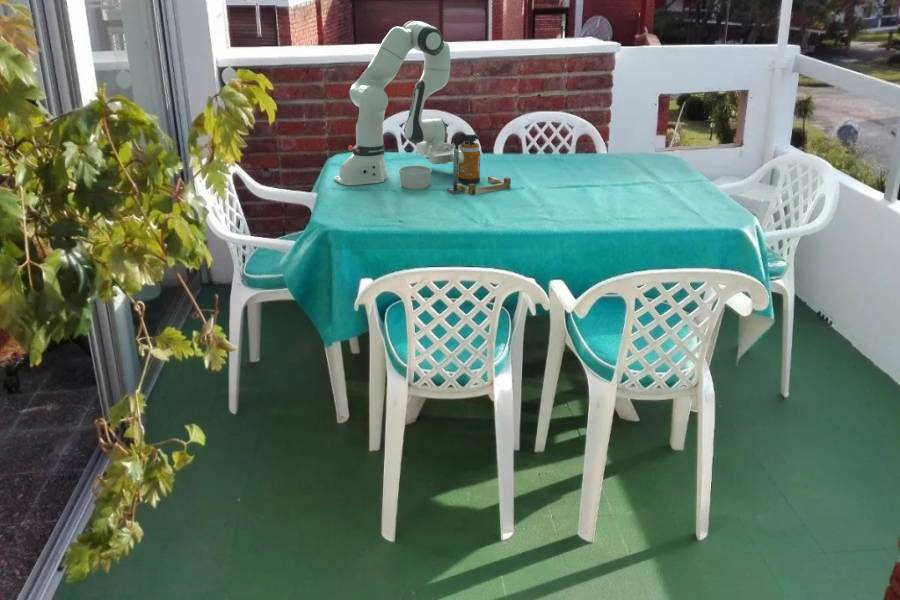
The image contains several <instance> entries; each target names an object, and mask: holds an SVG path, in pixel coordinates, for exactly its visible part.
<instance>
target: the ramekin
mask: <svg viewBox="0 0 900 600" xmlns="http://www.w3.org/2000/svg"><path fill="white" fill-rule="evenodd" d="M432 170H433V169H432V168H431V167H429V166H424V165H407V166H403V167H401V168H399V171H398V174H399V176H400V177H399V178H400V184H401V186H402V187H403V188H404V189H407V190H414V189H415V190H416V191H417V190H423V189H424V188H425V189H427V188H429V186H430V184H431V181H432V180H431V179H432V178H431V177H432Z"/></svg>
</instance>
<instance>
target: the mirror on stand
mask: <svg viewBox="0 0 900 600" xmlns="http://www.w3.org/2000/svg"><path fill="white" fill-rule="evenodd" d="M463 161H464V154H463V152H462V151H461V150H458V149H454V154H453V162H452V163H453V164H452V165H453V166H452V167H453V169H452V170H453V172H452V175H453V176H452V177H453V178H452V182H453V183H452V187H448V188H446V191H447V193H449V194H451V193H452V195H457V194H463V193H465V192H464V189H461V188H459V187H457V183H458V173H457V172H458V171H463V169H460V170H457V164H458V163H462V162H463ZM446 191H445V192H446Z"/></svg>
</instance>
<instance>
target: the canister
mask: <svg viewBox="0 0 900 600" xmlns="http://www.w3.org/2000/svg"><path fill="white" fill-rule="evenodd" d="M479 139H480V136H479V135H477V134H476V133H473V134H465V133H462V134H460V135H458V136H456V137H455V138H453V143H455V149H458V146H459V145H460V150H461V151H462V152H463V154H464V161H463V162H462V163H458V164H457V170H460V169H463V171H458V172H457V182H458V183H461V184H463V185H464V184H466V185H469V184H473V183H474V184H477V183H479V182H480V181H481V178H480V177H481V151H480V145H479V143H477V140H479Z"/></svg>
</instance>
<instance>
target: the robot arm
mask: <svg viewBox="0 0 900 600" xmlns="http://www.w3.org/2000/svg"><path fill="white" fill-rule="evenodd" d="M412 49H414V50H416V51H418V52H421V53H423V58H424V62H423V71H422V75H421V76H420V78H419V80H418V81H417V82H416V83H415V85H414V89H413V93H412V97H411V98H412V99H411V103H410V106H409V107H410V108H409V113H408V117H407V119H406V123H405V125H404V136H405V138H406V139H407V140H408V141H409V142H410V143H412V144H414V145H415V147H416V151H417V153H418V154H419V155H420V156H421V157H423V158H424V159H428V160H427V161H428V162H429V163H431V164H432V165H447V164H448V163H453V154H454V149H455V143H454V142H453V143H449V142H445V141H446V138H447V133H448V131H447V129H448V128H447V125H446V123H445V121H444V120H443V119H442V118H441V117H438V116H437V117H428V118H427V117H425V118H422V116H423V110H424V106H425V102H426V100H427V99H428V97H430V96H431V95H432V94H434V93H436V92H437V91H441V90H442V89H443V88H444V87H445V86H446V85H447V84H448V83H449V80H450V76H451V50H450V45H449V44H448V42H446V41H444V39H443V35H442V33H441V31H440V30H439V29H438V28H437V27H435V26H433V25H430V24H428V23H427V22H424V21H419V20H417V19H416V20H410V21H406V22H405V23H404V24H403V25H402V26H393V27H392V28H391V29H390V30H389V32H388V33H387V34H386V35H385V37H384V38H383V39H382V42H381V43H380V45H379V47H378V49H377V50H376V53H375V54H374V56H373V58H372V60H371V62H370V63H369V65H368V66H367V68H366V69H365V70H364V72H362V74H361V75H360V76H359V78H358V79H357V80H356V81H355V82H354V83H352V85H351V86H350V88H349V91H348V92H349V97H350V100H351V101H352V103H353V104H354V105H355V106H356V107H358V111H359V112H358V119H357V122H356V124H355V141H356V143H355V145H354V146H353V145H348V150H349V151H350V152H352V154H351V155H350V156H349V157H347V158H346V159H345V160H344V161H343V162H342V163H341V165H340V167H339V173H338V175H335V176H334V177H333V179H334V181H335V182H336V183H338V184H341V185H344V186H350V187H351V186H360V185H369V184H378V183H380V184H381V183H384V182H385V180H387V179H388V173H387V169H386V163H385V144H384V120H385V113H386V109H387V107H388V105H389V98H388V95H387V93H386V91H385V90H384V89H385V88H386V87H387V85H389V83H390V82H392V81H393V80H394V79H395V77H396V76H397V75H398V72H399V70H400V68H401V66H402V65H403V63H404V61H405V59H406V57H407V55H408V53H409V52H410V51H411V50H412ZM458 150H460V145H459V146H458Z"/></svg>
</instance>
